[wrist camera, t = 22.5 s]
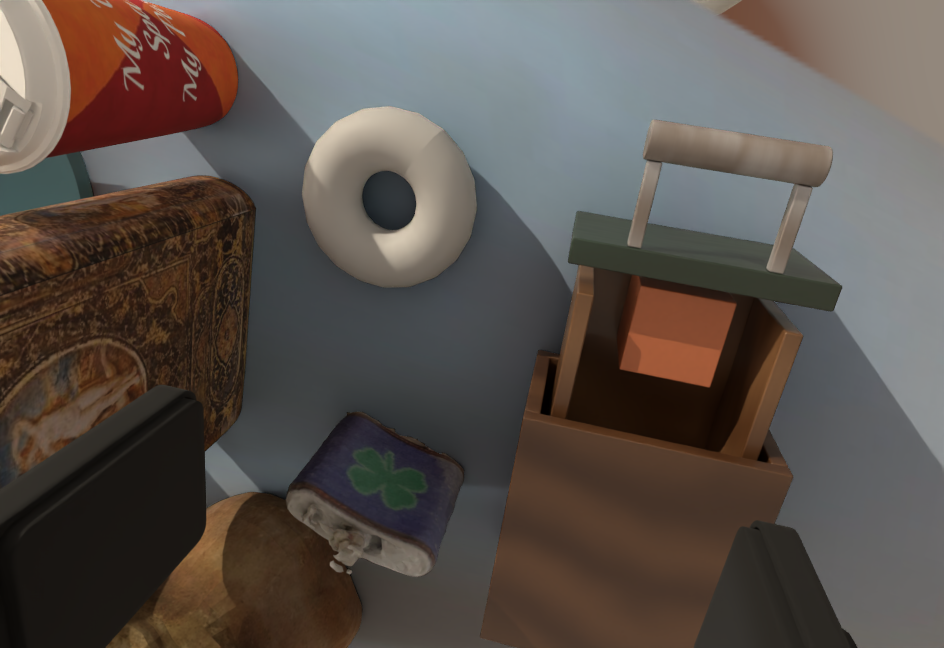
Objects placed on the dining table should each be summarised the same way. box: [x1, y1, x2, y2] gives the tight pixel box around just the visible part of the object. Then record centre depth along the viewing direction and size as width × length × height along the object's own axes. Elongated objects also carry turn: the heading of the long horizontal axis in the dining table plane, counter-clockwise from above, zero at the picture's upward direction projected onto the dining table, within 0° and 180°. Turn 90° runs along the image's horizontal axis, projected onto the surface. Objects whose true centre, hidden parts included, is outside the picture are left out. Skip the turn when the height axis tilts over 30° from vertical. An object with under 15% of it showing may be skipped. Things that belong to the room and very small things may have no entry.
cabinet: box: [480, 350, 793, 648], centre depth 35 cm, size 15×13×9 cm
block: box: [617, 275, 737, 387], centre depth 31 cm, size 4×4×4 cm
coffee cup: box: [0, 0, 238, 174], centre depth 29 cm, size 8×8×15 cm
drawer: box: [547, 120, 842, 461], centre depth 31 cm, size 19×11×7 cm, turn 172°
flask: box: [286, 412, 464, 577], centre depth 37 cm, size 9×3×11 cm, turn 65°
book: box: [0, 176, 256, 489], centre depth 29 cm, size 16×6×25 cm, turn 169°
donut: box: [302, 106, 477, 288], centre depth 34 cm, size 10×4×10 cm
